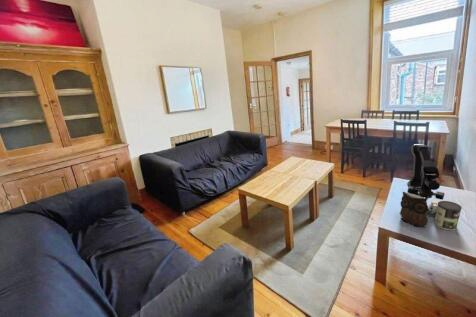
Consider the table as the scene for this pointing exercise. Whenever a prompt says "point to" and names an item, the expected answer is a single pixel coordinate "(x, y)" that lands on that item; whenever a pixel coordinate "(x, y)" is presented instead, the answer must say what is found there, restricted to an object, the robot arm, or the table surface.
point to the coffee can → (447, 215)
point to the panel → (431, 212)
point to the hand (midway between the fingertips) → (423, 203)
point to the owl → (414, 210)
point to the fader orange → (433, 203)
